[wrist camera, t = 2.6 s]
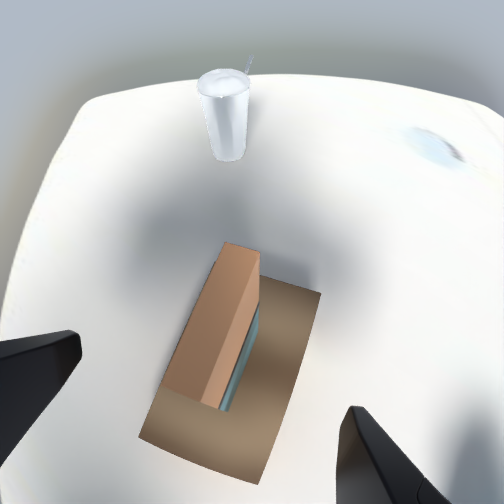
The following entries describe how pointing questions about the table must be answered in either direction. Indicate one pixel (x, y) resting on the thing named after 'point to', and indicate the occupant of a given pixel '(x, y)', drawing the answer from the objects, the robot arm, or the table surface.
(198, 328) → the brown rectangular block
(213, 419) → the brown display base
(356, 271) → the table surface
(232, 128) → the milkshake
